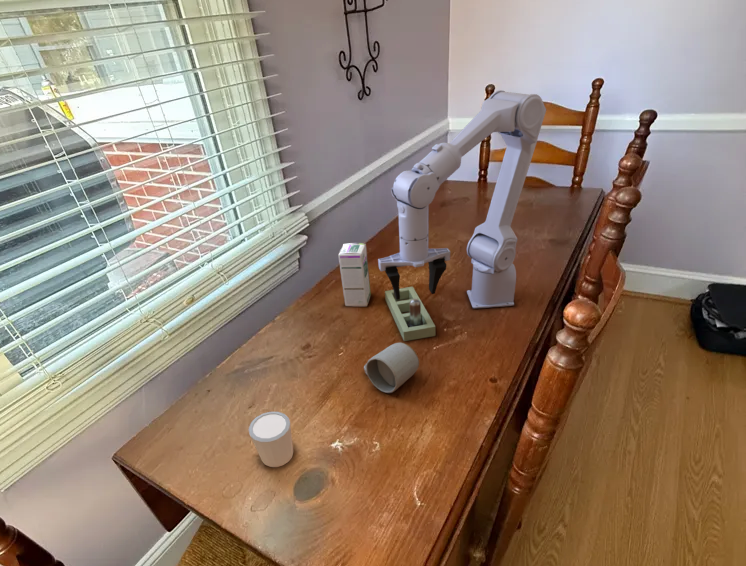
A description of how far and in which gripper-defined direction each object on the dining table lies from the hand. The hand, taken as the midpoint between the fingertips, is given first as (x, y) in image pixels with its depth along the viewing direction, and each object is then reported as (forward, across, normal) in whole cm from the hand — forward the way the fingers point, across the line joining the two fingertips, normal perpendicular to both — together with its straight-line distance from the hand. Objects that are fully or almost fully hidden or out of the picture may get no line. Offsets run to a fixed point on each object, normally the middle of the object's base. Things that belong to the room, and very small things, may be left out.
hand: (414, 294), depth 101 cm
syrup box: (+9, -10, +17) cm, 22 cm away
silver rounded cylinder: (+9, 0, 0) cm, 9 cm away
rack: (+9, 0, +6) cm, 11 cm away
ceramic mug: (+9, -10, -15) cm, 20 cm away
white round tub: (+9, -32, -29) cm, 45 cm away
